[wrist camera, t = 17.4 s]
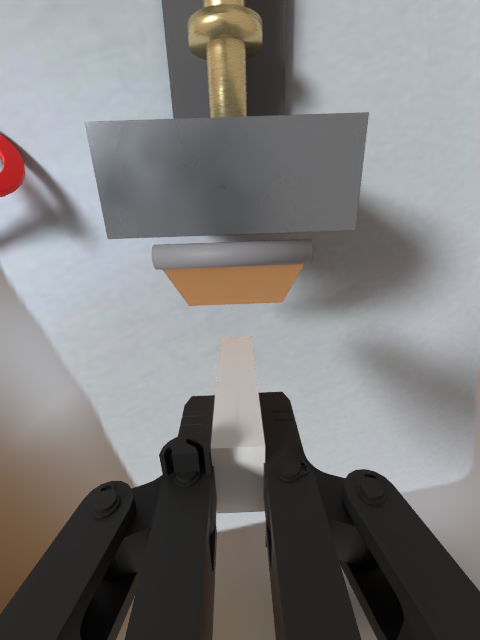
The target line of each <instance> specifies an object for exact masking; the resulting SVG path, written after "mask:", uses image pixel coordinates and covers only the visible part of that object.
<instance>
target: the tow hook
mask: <svg viewBox="0 0 480 640" xmlns="http://www.w3.org/2000/svg"><path fill="white" fill-rule="evenodd" d="M0 157H1V158H2V161H3V163H4V168H3V170H2V171H1V172H0V197H3V196H6V195H8V194H10V193H12V192H14V191H15V190H16V189H17V188H18V187H19V186H20V185H21V184H22V182H23V179H24V176H25V168H24V161H23V159H22V157H21V155H20V153H19V151H18V150H17V149H16V148H15V147H14V145H13V144H12V143H11V142H10V141H8V140H7V139H6V138H5V137H4V136H2V135H1V134H0Z"/></svg>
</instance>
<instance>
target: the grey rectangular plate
mask: <svg viewBox="0 0 480 640" xmlns="http://www.w3.org/2000/svg"><path fill="white" fill-rule="evenodd" d="M368 116H369V112H366V113H336V114H306V115H276V116H246V117H216V118H186V119H156V120H126V121H96V122H85V127H86V132H87V137H88V142H89V147H90V152H91V157H92V162H93V167H94V172H95V177H96V182H97V187H98V192H99V197H100V202H101V207H102V212H103V217H104V222H105V227H106V232H107V237H108V239H122V238H150V237H178V236H206V235H234V234H262V233H290V232H318V231H346V230H356V221H357V212H358V203H359V195H360V186H361V177H362V168H363V159H364V151H365V142H366V133H367V124H368Z"/></svg>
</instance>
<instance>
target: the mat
mask: <svg viewBox="0 0 480 640" xmlns="http://www.w3.org/2000/svg"><path fill="white" fill-rule="evenodd" d="M245 7H247V8H250V9H252V10H254V11H255V12H257V13H258V14H259V15H260V17H261V19H262V37H263V45H262V49H261V50H260V52H259V53H257V54H256V55H255V56H253V57H251V58H248V59H246V82H247V116H276V115H284V90H285V43H286V0H245ZM162 8H163V18H164V28H165V38H166V48H167V58H168V68H169V78H170V88H171V98H172V108H173V118H174V119H186V118H210V107H209V90H208V74H207V60H204V59H201V58H199V57H197V56H195V55H194V54H193V53H192V52H191V51H190V49H189V40H188V27H187V23H188V19H189V18H190V16H191V15H192V14H193V13H195V12H196V11H198V10H200V9H202V8H204V7H203V0H162Z"/></svg>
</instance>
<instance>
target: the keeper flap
mask: <svg viewBox="0 0 480 640" xmlns="http://www.w3.org/2000/svg"><path fill="white" fill-rule="evenodd" d="M312 257H313V244H312V241H311V239H303V240H275V241H248V242H220V243H192V244H164V245H153V247H152V260H153V265H154V268H155V269H156V270H158V269H162V270H163V271H164V272H165V274H166V275H167V276H168V278H169V279H170V280H171V282H172V283H173V285H174V286H175V287H176V289H177V290H178V291H179V293H180V294H181V296H182V297H183V298H184V300H185V301H186V302H187V304H188V305H189V306H197V305H224V304H250V303H277V302H283V300H284V298H285V297H286V295H287V293H288V291H289V290H290V288H291V286H292V284H293V283H294V281H295V279H296V277H297V276H298V274H299V272H300V270H301V269H302V267H303V265H304V264H311V262H312Z"/></svg>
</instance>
